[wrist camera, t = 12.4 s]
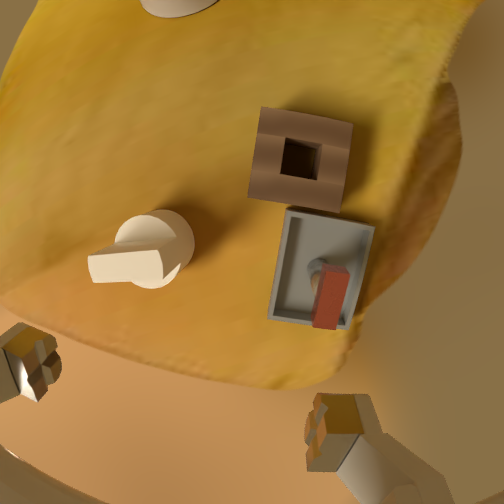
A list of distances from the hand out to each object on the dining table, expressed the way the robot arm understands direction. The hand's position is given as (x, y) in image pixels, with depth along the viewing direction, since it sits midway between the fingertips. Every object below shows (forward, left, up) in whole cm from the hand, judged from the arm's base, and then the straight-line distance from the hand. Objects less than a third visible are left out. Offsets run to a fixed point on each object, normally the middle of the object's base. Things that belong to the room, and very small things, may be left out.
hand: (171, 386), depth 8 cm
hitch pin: (+5, +9, -31) cm, 33 cm away
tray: (+5, +9, -32) cm, 33 cm away
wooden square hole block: (-8, +4, -32) cm, 33 cm away
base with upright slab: (+5, -12, -32) cm, 34 cm away
